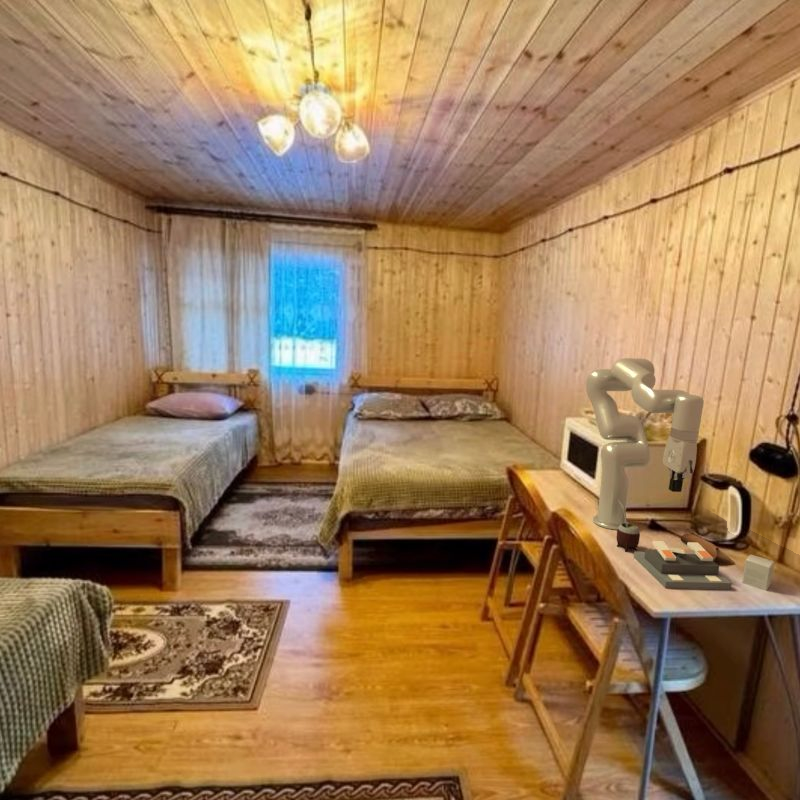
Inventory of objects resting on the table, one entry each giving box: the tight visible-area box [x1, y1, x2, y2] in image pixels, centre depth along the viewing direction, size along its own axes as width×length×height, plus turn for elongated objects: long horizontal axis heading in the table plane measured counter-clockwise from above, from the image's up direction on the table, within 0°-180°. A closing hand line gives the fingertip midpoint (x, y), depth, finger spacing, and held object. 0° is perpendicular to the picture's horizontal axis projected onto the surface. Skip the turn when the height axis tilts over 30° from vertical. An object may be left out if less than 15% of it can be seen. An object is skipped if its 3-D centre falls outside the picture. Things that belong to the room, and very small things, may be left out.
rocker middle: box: [668, 547, 695, 556], centre depth 151 cm, size 8×3×2 cm, turn 0°
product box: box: [742, 554, 775, 592], centre depth 147 cm, size 6×6×7 cm
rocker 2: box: [686, 542, 713, 561], centre depth 151 cm, size 8×3×2 cm, turn 1°
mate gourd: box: [616, 500, 641, 553], centre depth 167 cm, size 8×8×15 cm
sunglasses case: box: [680, 533, 737, 566], centre depth 167 cm, size 18×7×7 cm
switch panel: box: [633, 548, 732, 590], centre depth 152 cm, size 19×19×5 cm
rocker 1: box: [652, 540, 676, 561], centre depth 151 cm, size 8×3×2 cm, turn 1°
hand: (674, 490), depth 156 cm, fingers closed
